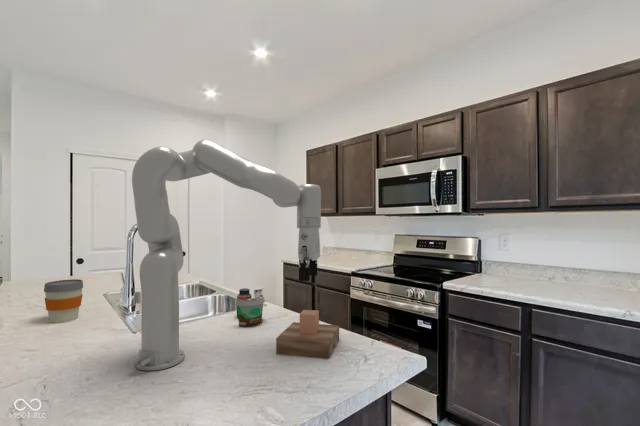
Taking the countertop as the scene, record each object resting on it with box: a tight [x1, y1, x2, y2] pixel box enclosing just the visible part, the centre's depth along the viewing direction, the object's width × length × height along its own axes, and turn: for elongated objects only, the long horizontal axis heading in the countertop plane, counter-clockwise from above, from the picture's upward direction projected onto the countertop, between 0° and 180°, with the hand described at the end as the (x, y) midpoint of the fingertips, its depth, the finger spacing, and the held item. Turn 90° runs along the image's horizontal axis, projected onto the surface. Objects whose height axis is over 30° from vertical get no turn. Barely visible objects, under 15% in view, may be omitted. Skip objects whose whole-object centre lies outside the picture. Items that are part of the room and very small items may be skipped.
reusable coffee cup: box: [43, 278, 84, 324], centre depth 132 cm, size 13×13×15 cm
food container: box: [235, 294, 266, 328], centre depth 126 cm, size 12×6×10 cm, turn 143°
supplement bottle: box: [236, 287, 253, 318], centre depth 135 cm, size 6×6×11 cm
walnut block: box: [275, 321, 340, 360], centre depth 104 cm, size 16×16×5 cm
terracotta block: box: [299, 309, 320, 335], centre depth 104 cm, size 5×5×6 cm
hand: (308, 277), depth 104 cm, fingers open, 9 cm apart
